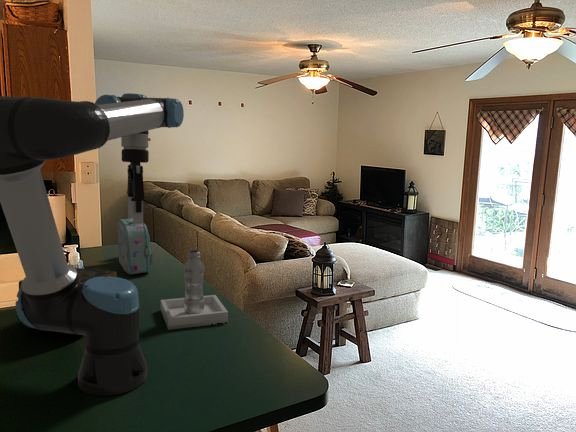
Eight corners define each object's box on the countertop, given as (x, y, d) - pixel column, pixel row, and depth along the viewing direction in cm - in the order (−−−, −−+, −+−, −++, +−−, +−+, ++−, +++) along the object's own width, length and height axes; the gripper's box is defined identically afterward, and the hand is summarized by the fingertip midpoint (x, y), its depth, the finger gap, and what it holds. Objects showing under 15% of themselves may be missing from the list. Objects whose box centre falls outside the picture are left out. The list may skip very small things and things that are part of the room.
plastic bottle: (208, 313, 148) (209, 251, 145) (191, 318, 143) (191, 255, 140) (196, 307, 153) (197, 247, 149) (179, 312, 148) (178, 251, 144)
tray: (227, 322, 144) (228, 311, 144) (168, 329, 137) (168, 318, 137) (215, 304, 159) (215, 294, 158) (160, 310, 152) (160, 300, 151)
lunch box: (154, 276, 187) (154, 223, 183) (127, 279, 182) (126, 225, 178) (140, 259, 210) (139, 212, 206) (116, 261, 205) (115, 213, 201)
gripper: (155, 148, 127) (154, 226, 129) (142, 149, 150) (142, 215, 152) (126, 147, 124) (126, 227, 126) (117, 148, 146) (118, 216, 149)
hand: (135, 221), depth 139 cm, fingers open, 13 cm apart
